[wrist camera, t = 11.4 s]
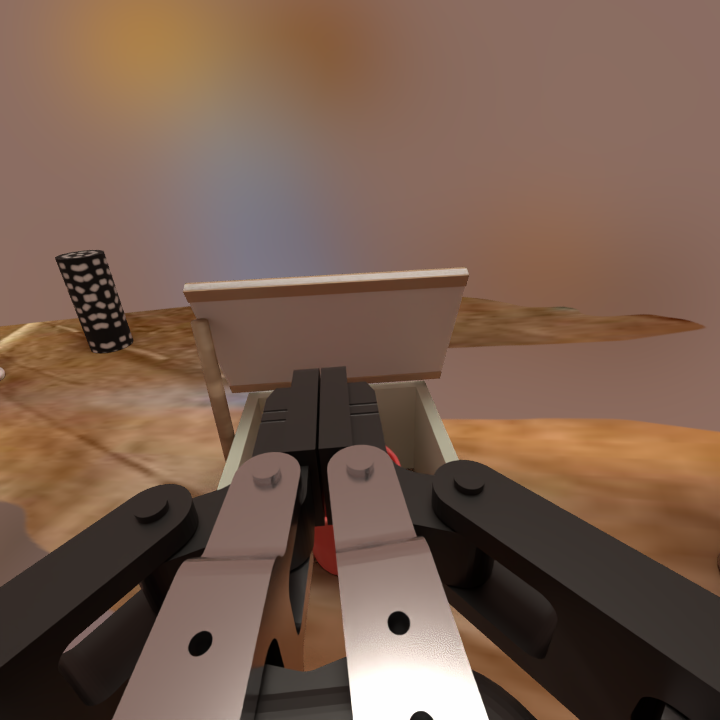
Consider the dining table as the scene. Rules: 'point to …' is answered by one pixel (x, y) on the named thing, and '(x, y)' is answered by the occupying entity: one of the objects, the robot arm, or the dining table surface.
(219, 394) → the prop stick
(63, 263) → the white-spotted black cylinder
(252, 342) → the lid
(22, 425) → the dining table surface
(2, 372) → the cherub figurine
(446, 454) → the cold frame
